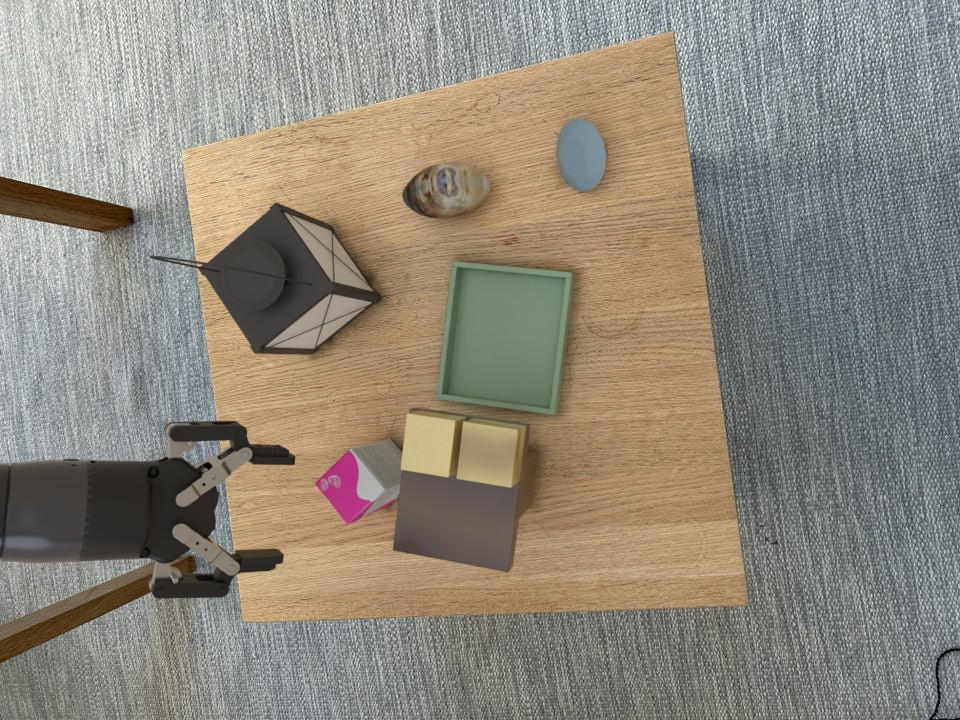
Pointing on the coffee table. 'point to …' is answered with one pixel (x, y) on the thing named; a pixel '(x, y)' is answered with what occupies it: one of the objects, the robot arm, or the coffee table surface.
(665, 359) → the coffee table surface
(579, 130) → the blue-grey stone
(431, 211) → the seashell
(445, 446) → the butter pat
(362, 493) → the supplement box
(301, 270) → the lantern
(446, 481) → the butter stand
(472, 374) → the butter dish
